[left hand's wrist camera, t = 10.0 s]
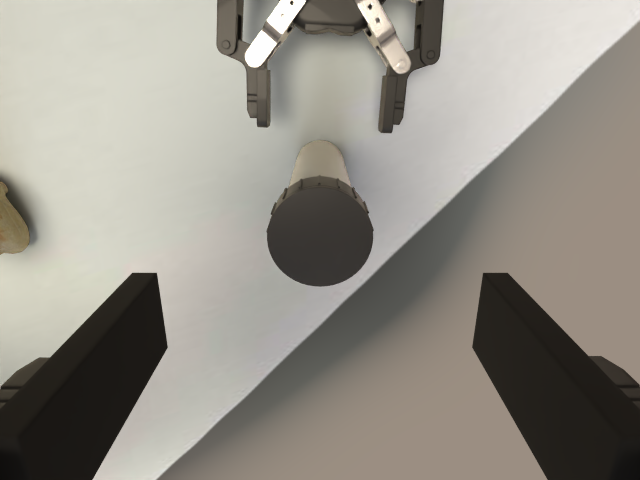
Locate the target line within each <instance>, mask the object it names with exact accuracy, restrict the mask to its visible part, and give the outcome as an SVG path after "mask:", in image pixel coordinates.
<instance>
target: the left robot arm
mask: <svg viewBox="0 0 640 480" xmlns="http://www.w3.org/2000/svg"><path fill="white" fill-rule="evenodd" d="M167 348H168V346H167V339H166V333H165V326H164V319H163V312H162V305H161V298H160V292H159V285H158V278H157V273H132V274H131V275H130V276H129V277H128V278H127V279H126V280H125V281H124V282H123V283H122V284H121V285H120V286H119V287H118V288H117V289H116V290H115V291H114V292H113V293H112V294H111V296H110V297H109V298H108V299H107V300H106V301H105V302H104V303H103V304H102V305H101V306H100V307H99V308H98V309H97V310H96V311H95V312H94V313H93V314H92V315H91V316H90V317H89V318H88V319H87V320H86V321H85V322H84V323H83V324H82V325H81V326H80V327H79V328H78V329H77V330H76V332H75V333H74V334H73V335H72V336H71V337H70V338H69V339H68V340H67V341H66V342H65V343H64V344H63V345H62V346H61V347H60V348H59V349H58V350H57V351H56V352H55V353H54V354H53V355H52V356H51V357H50V358H38V359H36V360H34V361H33V362H31V363H29V364H28V365H26V366H24V367H23V368H21V369H19V370H18V371H16V372H15V373H14V374H13V375H12V376H11V377H10V378H9V379H8V380H7V381H6V382H5V383H4V384H3V385H2V386H1V389H0V480H92V479H93V478H94V476H95V474H96V472H97V471H98V469H99V467H100V465H101V464H102V462H103V460H104V458H105V456H106V455H107V453H108V451H109V449H110V448H111V446H112V444H113V442H114V441H115V439H116V437H117V435H118V434H119V432H120V430H121V428H122V427H123V425H124V423H125V421H126V420H127V418H128V416H129V414H130V413H131V411H132V409H133V407H134V406H135V404H136V402H137V400H138V399H139V397H140V395H141V393H142V392H143V390H144V388H145V386H146V385H147V383H148V381H149V379H150V378H151V376H152V374H153V372H154V370H155V369H156V367H157V365H158V363H159V362H160V360H161V358H162V356H163V355H164V353H165V351H166V349H167ZM472 348H473V349H474V351H475V353H476V355H477V356H478V358H479V360H480V362H481V363H482V365H483V367H484V369H485V370H486V372H487V374H488V376H489V377H490V379H491V381H492V383H493V385H494V386H495V388H496V390H497V392H498V393H499V395H500V397H501V399H502V400H503V402H504V404H505V406H506V407H507V409H508V411H509V413H510V414H511V416H512V418H513V420H514V421H515V423H516V425H517V427H518V428H519V430H520V432H521V434H522V435H523V437H524V439H525V441H526V442H527V444H528V446H529V448H530V449H531V451H532V453H533V455H534V456H535V458H536V460H537V462H538V463H539V465H540V467H541V469H542V470H543V472H544V474H545V476H546V478H547V479H548V480H640V385H639V384H638V383H637V382H636V381H635V380H634V379H633V378H632V377H631V376H630V375H629V374H628V373H627V372H626V371H624V370H623V369H622V368H620V367H618V366H617V365H615V364H613V363H612V362H610V361H608V360H607V359H605V358H603V357H602V356H588V355H587V354H586V353H585V352H584V351H583V350H582V349H581V348H580V347H579V346H578V345H577V344H576V343H575V342H574V341H573V340H572V339H571V338H570V337H569V336H568V335H567V334H566V333H565V332H564V330H563V329H562V328H561V327H560V326H559V325H558V324H557V323H556V322H555V321H554V320H553V319H552V318H551V317H550V316H549V315H548V314H547V313H546V312H545V311H544V310H543V309H542V308H541V307H540V306H539V305H538V304H537V303H536V302H535V301H534V300H533V299H532V298H531V297H530V296H529V294H528V293H527V292H526V291H525V290H524V289H523V288H522V287H521V286H520V285H519V284H518V283H517V282H516V281H515V280H514V279H513V278H512V277H511V276H510V275H509V274H508V273H483V278H482V285H481V292H480V298H479V305H478V312H477V319H476V326H475V333H474V339H473V347H472Z"/></svg>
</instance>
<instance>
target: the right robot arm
mask: <svg viewBox="0 0 640 480" xmlns="http://www.w3.org/2000/svg"><path fill="white" fill-rule="evenodd" d="M279 1H280V2H279V4H278V5H277V7H276V8H275V9H274V11H273V12H272V14H271V15H270V16H269V18H268V19H267V21H266V22H265V24H264V26H263V28H262V30H261V32H260V33H259V34H258V36H257V37H256V39H255V40H254V41H253V43H252V44H251V45H250V44H248V43H246V42H243V41H242V32H243V5H244V0H217V48H218V50H219V51H220V52H221V53H222V54H224V55H227V56H229V57H231V58H234V59H236V60H238V61H240V62H241V63H243V65H244V66H245V68H246V72H247V111H248V113H249V116H250V118H257V126H258V127H269V126H270V70H267V63H268V62H269V60H270V59H271V58H272V56H273V55H274V54H275V52H276V51H277V49H278V48H279V47H280V45H281V44H282V43H283V42H284V41H285V40H286V38H287V37H288V36H289V34H290V33H291V32H292V30H293V29H294V27H295V26H296V27H297V28H298V29H300V30H301V31H303V32H306V34H320V33H324V32H332V33H335V34H338V35H343V36H352V35H353V34H356V33H358V32H360V31H361V30H363V31H364V33H365V35H366V36H367V38H368V40H369V41H370V43H371V45H372V46H373V47H374V48H375V50H376V51H377V53H378V54H379V56H380V58H381V59H382V61H383V63H384V65H385V66H386V68H387V72H386V76H383V78H382V90H381V101H380V113H379V124H378V129H379V131H380V132H381V133H392V129H393V124H394V125H399V124H400V122H401V120H402V118H403V113H404V104H405V103H404V102H405V94H406V85H407V78H408V76H409V74H410V73H411V72H412V71H414V70H416V69H419V68H422V67H425V66H428V65H432V64H435V63H436V62H437V61H438V59H439V57H440V47H441V33H442V20H443V6H444V0H409V1H411V2H412V3H416V17H415V36H414V50H411V51H408V52H406V51H405V49H404V47H403V46H402V44H401V42H400V40H399V39H398V37H397V35H396V31H395V29H394V27H393V25H392V23H391V21H390V20H389V18H388V16H387V14H386V13H385V11H384V9H383V7H382V4H383V3H384V2H385V0H279Z"/></svg>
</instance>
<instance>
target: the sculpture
mask: <svg viewBox="0 0 640 480" xmlns="http://www.w3.org/2000/svg"><path fill="white" fill-rule="evenodd" d="M7 192H8V188H7V186H6V185H5V184H4V183H3V182H1V181H0V255H1V254H2V253H11V254H13V253H18V252H22V251H23V250H24V249H25V248H26V247H27V246H28V244H29V239H30V236H29V231H28V228H27V226H26V224H25V222H24V220H23V219H22V217H21V216H20V214H19V213H18V212H17V210H16V209H15V208H14V207H13V206H12V205H11V203H10V202H9V201H8V199H7V198H6V195H5V194H6V193H7Z"/></svg>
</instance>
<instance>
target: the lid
mask: <svg viewBox="0 0 640 480" xmlns="http://www.w3.org/2000/svg"><path fill="white" fill-rule="evenodd" d="M368 213H369V212H368V209H367V206H366V203H365V201H364V202H363V201H362V199H361V198H360V196H359V195H358V193H357V192H356V191H355V188H354V187H353V188H352V187H350V186H349V185H348V184H346V183H345V182H343V181H340V180H339V178H337V179H335V178H332V177H327V176H321V175H318V176H314V177H309V178H305V179H302V178H301V179H300V181H298V182H296V183H294V184H293V185H291V186H290V187H289V188H285V190H284V192H283V194H282V195H281V196H280V198H279V199H278V201H277V203H276V202H275V204H274V206H273V209H272V212H271V215H272V217H271V219H270V223H269V226H268V228H267V241H268V247H269V251H270V254H271V256H272V258H273V260H274V262H275V263H276V265H277V266H278V267H279V269H280V270H281V271H282V272H283V273H285V274H286V275H287V276H288V277H290V278H292V279H293V280H295V281H297V282H300V283H302V284H306V285H310V286H330V285H335V284H338V283H341V282H343V281H345V280H347V279H349V278H350V277H352V276H353V275H354V274H356V273H357V272H358V271H359V270H360V269H361V268H362V266H363V265H364V264H365V262H366V260H367V259H368V257H369V254H370V252H371V248H372V243H373V227H372V224H371V221H370V218H369V216H368Z"/></svg>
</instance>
